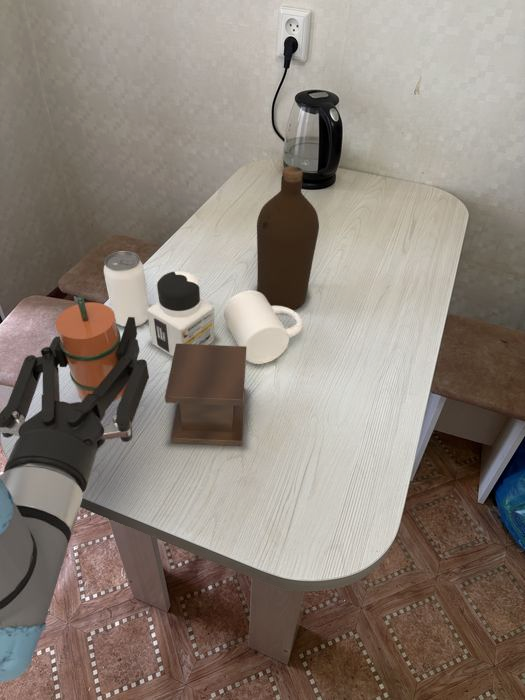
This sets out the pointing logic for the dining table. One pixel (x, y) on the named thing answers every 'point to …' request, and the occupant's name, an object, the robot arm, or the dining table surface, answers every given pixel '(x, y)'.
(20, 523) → the robot arm
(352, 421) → the dining table surface
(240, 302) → the mug
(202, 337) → the container
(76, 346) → the banded candle
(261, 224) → the olive oil
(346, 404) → the dining table surface
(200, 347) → the stand
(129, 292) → the can
